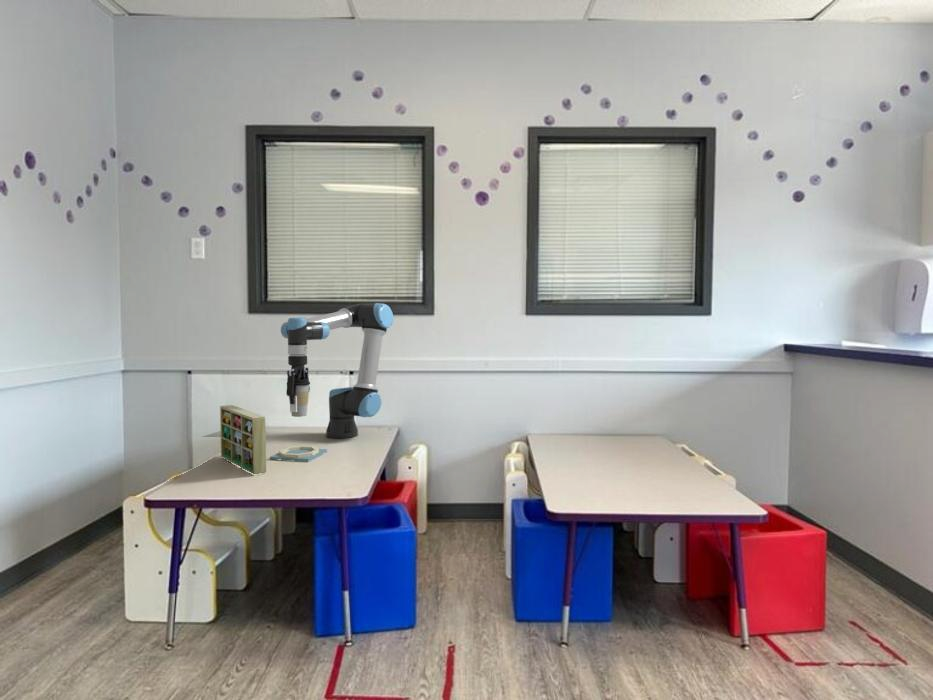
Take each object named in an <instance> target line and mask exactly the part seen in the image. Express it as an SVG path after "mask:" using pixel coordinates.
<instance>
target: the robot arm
mask: <svg viewBox="0 0 933 700" xmlns="http://www.w3.org/2000/svg"><path fill="white" fill-rule="evenodd" d="M393 323H394V314H393V311H392V309H391V308H390V306H389V305H387V304H385V303H379V302H376V303H357V304H353V305H350V306H347V307H342V308H340V309H339V310H338V311H335V312H331V313H327V314H322V315H321V314H320V315H317V316H313V317H309V318H306V317H289V318H288V319H287V321H285V322H283V323H282V324H281V326H280V333H281V336H282V337H283V338H285V339H287V355H289V356H288V357H287V362H288V365H289V366H291V367H290V368H291V369H290V370H287V371H286V374H287V381H286V393H285V394H286V396H287V397H289V396H290V401H289V411H290V413H291V412H297V396H295V395H296V386H294V381H297V380H300V379H308V381H309V382H310V379H309V367H305V366H306V365H307V364H308V355H307V354H308V341H313V340H315V341H316V340H319V341H321V340H325V339H327V338H328V337H329V336H330V333H331V332H330V331H331V330H336V329H339V328H344V329H347V328H361V331H362V332H363V333H364V334H363V341H362V348H361V355H360V361H359V368H358V373H357V374H358V375H357V381H356V383H355V385H353V386H347V387H340V388H339V387H337V388H332V389H331V390H330V391H329V392H328V393H329V394H328V407H329V420H328V421H329V422H328V424H327V428H326V429H325V437H326V436H327V438H329V437H330V439H348V437H351V438H355V437H358V436H359V429H358V426H357V423H356V421H355V417H361V418H372V417H374V416H375V415H377V414H378V413H379V411H380V410H381V406H382V398H381V395H380V394H379V393H378V392H379V389H378V387H377V386H376V385H377V384H376V383H377V375H378V369H379V362H380V356H381V355H380V354H381V349H382V341H383V336H385V335H386V334H387V330H388V329H389V328H391V326H392V325H393ZM310 390H311V388H310V386H309V391H310ZM354 436H355V437H354Z"/></svg>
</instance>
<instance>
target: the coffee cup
mask: <svg viewBox="0 0 933 700" xmlns="http://www.w3.org/2000/svg"><path fill="white" fill-rule="evenodd" d="M310 384H311V381H310V380H309V381H308V379H300V380H297V381H294V386H296V395H295V396H297V412H290V413H291V417H295V418H296V417H297V418H300V417H305V416H307V413H308V404H309V396H310V395H309V394H310V390H309V387H310ZM288 399H289V402H290V396H288Z"/></svg>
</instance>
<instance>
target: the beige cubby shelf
mask: <svg viewBox="0 0 933 700" xmlns="http://www.w3.org/2000/svg"><path fill="white" fill-rule="evenodd" d="M219 409H220V411H219V414H220V415H219V416H220V418H219V419H220V458H221V457H223V458H225V459H226V460H228V461H230V462H232V463H234V464H236V465H238V466H240V467H241V468H243V469H245V470H247V471H249V472H251V473H253V474H259V473H265V472H266V473H267V449H266V446H267V443H266V442H267V441H266V434H267V433H266V417H265V416H263V415H260V414H259V413H255V412H253V411H250V410H247V409H246V408H245V409H244V408H241V407H238V406H235V405H232V404H229V405H226V404H225V405H221V406H220V407H219ZM226 460H225V461H226ZM228 461H227V462H228Z"/></svg>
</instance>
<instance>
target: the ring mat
mask: <svg viewBox="0 0 933 700" xmlns="http://www.w3.org/2000/svg"><path fill="white" fill-rule="evenodd" d="M325 452H326V453H327V452H328V449H327V448H319V447H316V446H311V445H296V446H295V445H294V446H289V447H285V448H283V449H280V450H278V452H277V453H275V454H273V455H270V456H269V460H270V459H281V460H294V461H293V462H299V461H306V462H305V463H309V462H311V461H313V460H315V459H317V458H319V457H321V456H322V454H323V453H324V454H326V453H325ZM324 454H323V455H324ZM320 455H321V456H320ZM318 456H319V457H318ZM316 457H317V458H316ZM281 460H280V461H281Z"/></svg>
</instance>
